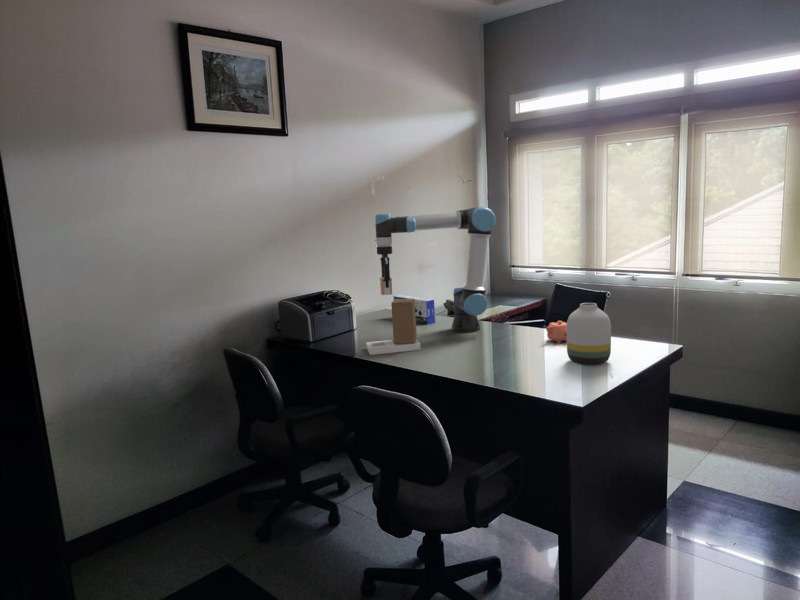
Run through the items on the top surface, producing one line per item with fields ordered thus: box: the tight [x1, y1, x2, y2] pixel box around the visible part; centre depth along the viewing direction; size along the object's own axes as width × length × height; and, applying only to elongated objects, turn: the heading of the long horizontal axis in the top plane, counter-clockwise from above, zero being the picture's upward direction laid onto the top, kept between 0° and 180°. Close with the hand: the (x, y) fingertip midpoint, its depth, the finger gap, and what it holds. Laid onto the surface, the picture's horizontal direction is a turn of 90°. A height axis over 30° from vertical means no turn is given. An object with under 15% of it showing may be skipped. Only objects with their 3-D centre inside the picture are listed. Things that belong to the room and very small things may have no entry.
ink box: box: [393, 294, 436, 326], centre depth 329 cm, size 30×7×14 cm, turn 39°
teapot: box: [545, 320, 567, 344], centre depth 262 cm, size 12×12×10 cm
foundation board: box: [365, 339, 421, 356], centre depth 266 cm, size 24×13×3 cm, turn 100°
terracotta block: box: [379, 276, 393, 296], centre depth 274 cm, size 5×5×8 cm
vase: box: [566, 302, 612, 366], centre depth 225 cm, size 17×17×24 cm
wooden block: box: [391, 298, 418, 344], centre depth 266 cm, size 10×10×20 cm
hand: (386, 293), depth 274 cm, fingers closed on terracotta block, 5 cm apart
